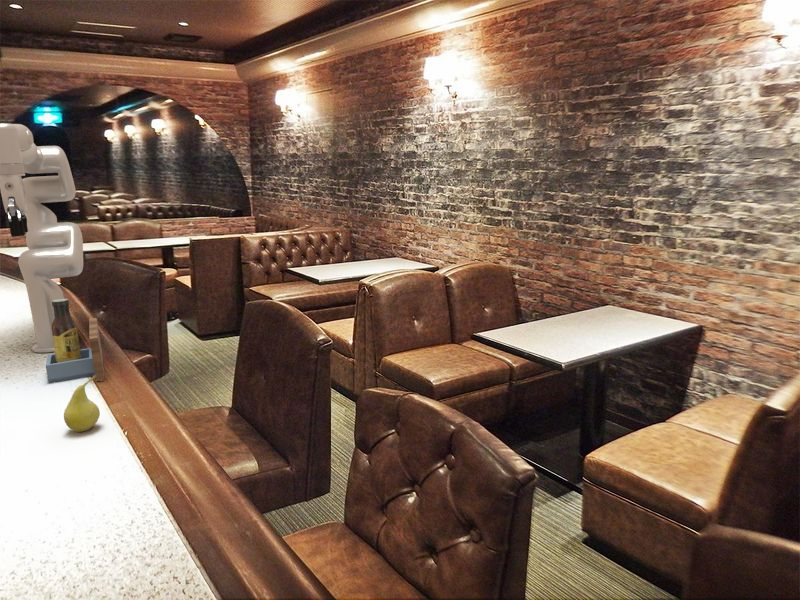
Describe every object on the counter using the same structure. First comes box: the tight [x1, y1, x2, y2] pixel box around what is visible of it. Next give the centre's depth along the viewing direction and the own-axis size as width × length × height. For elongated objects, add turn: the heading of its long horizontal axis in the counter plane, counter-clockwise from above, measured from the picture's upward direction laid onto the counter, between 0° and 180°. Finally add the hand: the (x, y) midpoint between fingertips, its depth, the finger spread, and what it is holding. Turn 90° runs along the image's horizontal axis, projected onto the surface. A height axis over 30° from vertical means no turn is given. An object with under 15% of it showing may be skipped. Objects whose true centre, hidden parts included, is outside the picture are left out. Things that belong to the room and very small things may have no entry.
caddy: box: [45, 347, 95, 384], centre depth 175 cm, size 11×12×5 cm
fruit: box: [63, 375, 101, 433], centre depth 137 cm, size 7×8×12 cm
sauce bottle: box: [52, 298, 82, 363], centre depth 173 cm, size 6×6×20 cm
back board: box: [88, 317, 106, 383], centre depth 177 cm, size 24×2×12 cm, turn 26°
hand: (20, 234), depth 174 cm, fingers open, 9 cm apart
